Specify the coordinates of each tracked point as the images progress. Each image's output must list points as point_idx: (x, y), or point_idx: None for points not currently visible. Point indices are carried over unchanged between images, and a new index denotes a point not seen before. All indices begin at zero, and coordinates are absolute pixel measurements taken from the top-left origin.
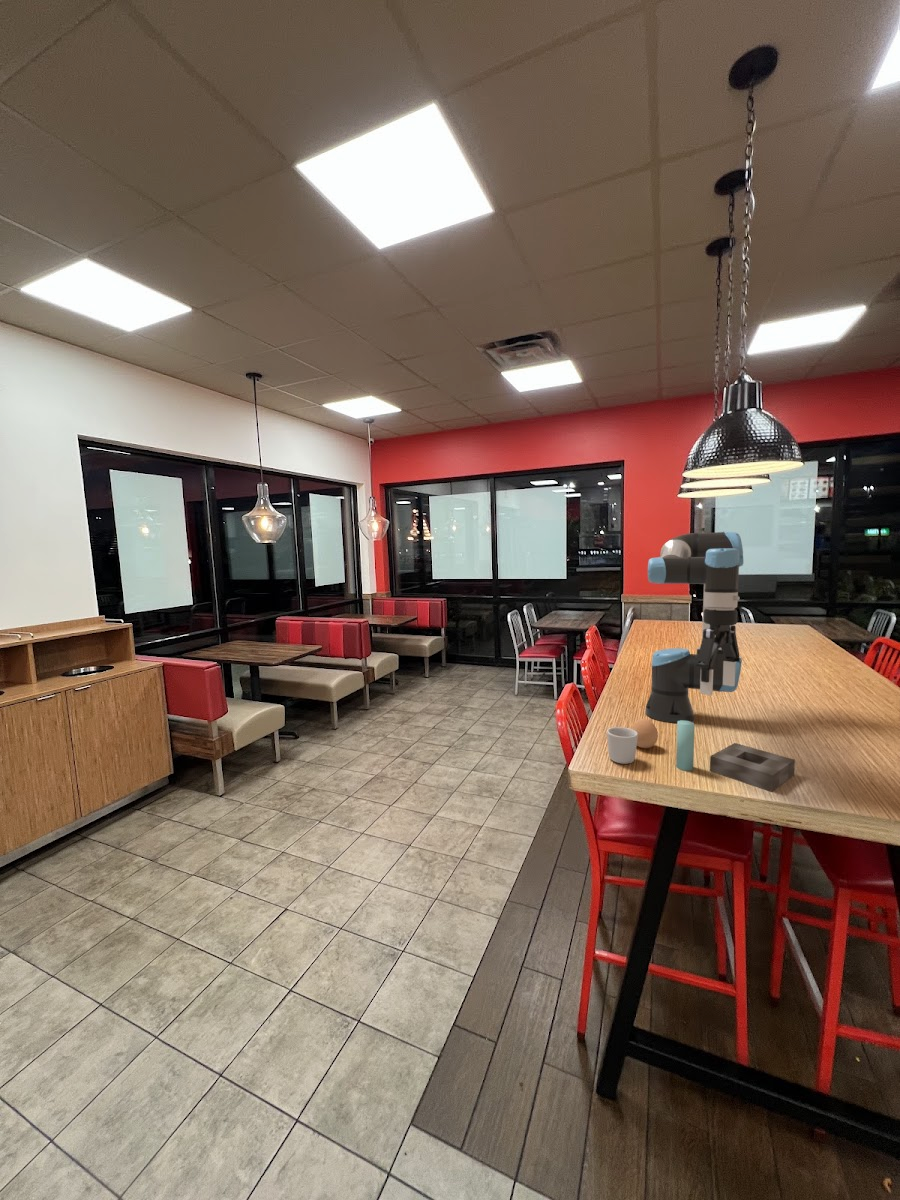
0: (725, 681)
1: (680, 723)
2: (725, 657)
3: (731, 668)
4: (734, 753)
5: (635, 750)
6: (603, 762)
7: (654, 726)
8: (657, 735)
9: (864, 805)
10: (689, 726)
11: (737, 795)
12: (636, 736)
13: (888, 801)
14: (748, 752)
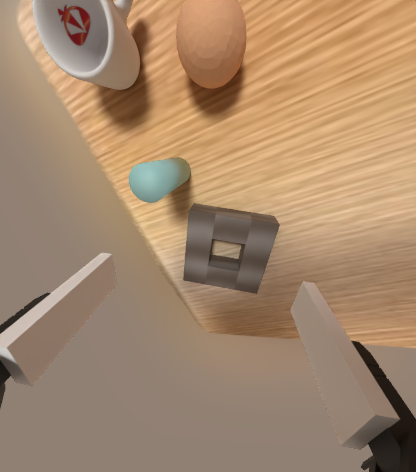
0: (304, 300)
1: (133, 175)
2: (402, 468)
3: (326, 384)
4: (226, 234)
5: (112, 86)
6: None
7: (213, 65)
8: (216, 84)
9: (219, 322)
10: (138, 196)
11: (151, 244)
12: (86, 79)
13: (242, 334)
14: (244, 249)
